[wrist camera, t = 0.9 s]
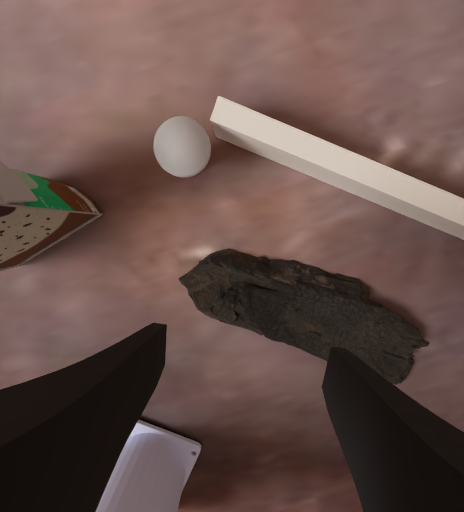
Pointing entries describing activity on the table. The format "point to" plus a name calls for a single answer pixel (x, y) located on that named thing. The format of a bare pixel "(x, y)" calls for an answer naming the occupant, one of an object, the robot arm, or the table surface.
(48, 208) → the food container
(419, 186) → the cream long bar
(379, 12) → the table surface
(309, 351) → the wood
